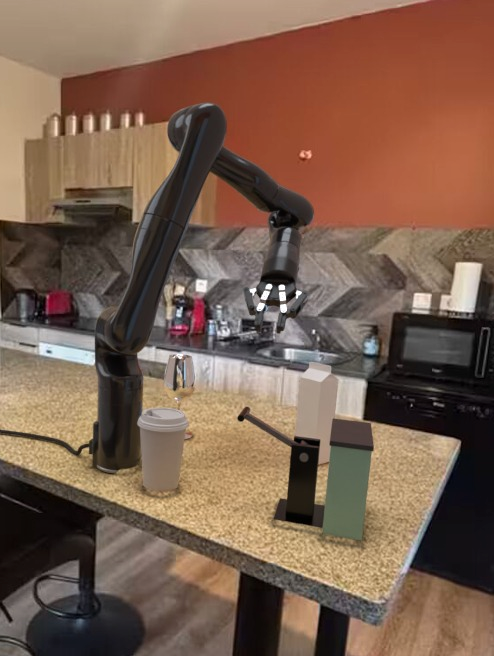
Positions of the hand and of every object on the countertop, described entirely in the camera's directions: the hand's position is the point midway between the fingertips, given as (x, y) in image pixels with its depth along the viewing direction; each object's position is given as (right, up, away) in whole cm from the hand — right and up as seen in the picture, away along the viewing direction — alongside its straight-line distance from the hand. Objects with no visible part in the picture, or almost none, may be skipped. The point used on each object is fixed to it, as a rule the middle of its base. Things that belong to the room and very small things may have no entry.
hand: (268, 329), depth 109 cm
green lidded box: (+10, -34, -17) cm, 39 cm away
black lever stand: (+3, -33, -14) cm, 36 cm away
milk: (+12, -29, +15) cm, 34 cm away
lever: (-2, -20, -15) cm, 25 cm away
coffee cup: (-21, -31, -5) cm, 38 cm away
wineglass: (-18, -25, +28) cm, 42 cm away
